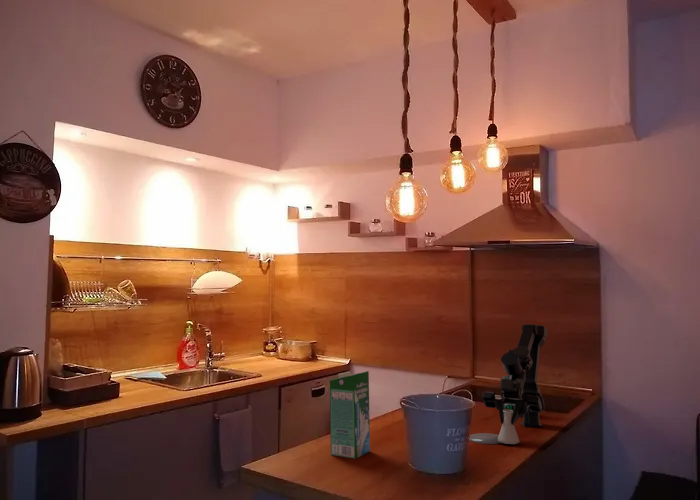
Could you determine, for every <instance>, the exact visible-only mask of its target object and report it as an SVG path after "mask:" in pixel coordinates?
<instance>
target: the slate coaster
mask: <svg viewBox="0 0 700 500" xmlns="http://www.w3.org/2000/svg"><path fill="white" fill-rule="evenodd" d="M469 436H470V438H469V437H468V440H469V442H472V443H475V444H481V445H499V444H502V443H501V442H498V436H499V433H498V434H497V433H492V432H490V433H489V432H479V433H472V434H470V435H469Z"/></svg>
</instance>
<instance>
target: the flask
mask: <svg viewBox="0 0 700 500" xmlns="http://www.w3.org/2000/svg"><path fill="white" fill-rule="evenodd" d="M503 412H504V421H503V424H501V428H500V431H499V433H498V435H499V436H498V442H501V444H507V445H516V444H517V445H518V444H519V443H521V441H520V438H519V435H518V433H517V430H516V427H515V424H514V425H512V413H513V410H507V409H505V410H503Z"/></svg>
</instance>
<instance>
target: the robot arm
mask: <svg viewBox="0 0 700 500" xmlns="http://www.w3.org/2000/svg"><path fill="white" fill-rule="evenodd" d="M521 330H522V331H521V334H520V337H519V340H518V343H517V346H516V347H515V348H513V349H509V350H508V352H506V353H504V354H502V356H501V358H500V361H501V364H502V366H503V369H504V372H505V374H507V376H508V377H507V379H503V378H500V381H499V382H500V383H499V389H500V390H501V392H500V395H498V394H496V392H495V391H484V392H482V395H481V399H482V402H483V404H484V406H485V407H486V408H490V409H491V408H492V409H496V410H497V411H498V413H499V418H500V419H499V420H500V424H501V425H502V424H503V421H504V412H503V410H505V406H504V405H505V404H512V405H515V410H514V413H513V417H512V425H514V426H515V424H516V423H517V422H518V420H519V419H520V418H521V417H522V421H520V424H521V425H523V427H526V428H527V427H528V428H531V427H533V428H535V427H536V428H539V427H540V428H541V427H544V426H543V424H541V423H540V413H541V412H542V411H543V410H545V401H544V398H543V396H542V393H541V392H542V391H541V389H540V388H539V385H538V377H539V375H538V374H539V366H540V356H541V355H540V354H541V348H542V347H543V345H545V344H546V340H547V339H546V338H547V337H548V335H549V334H548V333H549V332H548V328H547V327H545V325H543V324H534V323H525V324H522V328H521ZM503 395H504V396H503Z"/></svg>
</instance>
